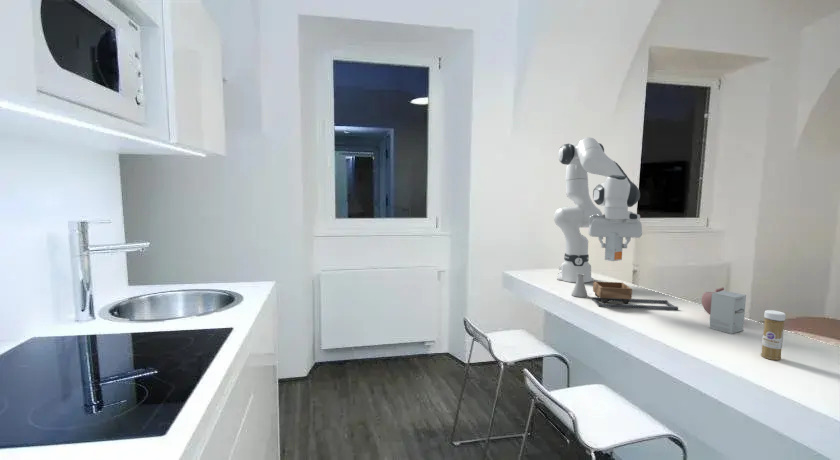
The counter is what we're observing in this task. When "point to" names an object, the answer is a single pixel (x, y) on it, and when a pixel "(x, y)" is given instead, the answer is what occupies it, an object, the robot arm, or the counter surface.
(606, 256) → the skincare box
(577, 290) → the flask
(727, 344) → the counter surface
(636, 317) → the counter surface
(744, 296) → the supplement box
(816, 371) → the counter surface
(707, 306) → the mortar and pestle
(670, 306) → the rail track
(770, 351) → the sprinkles bottle
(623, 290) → the cart
